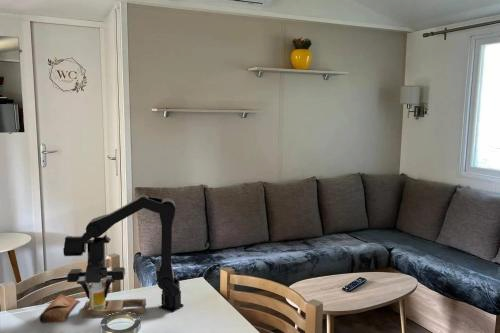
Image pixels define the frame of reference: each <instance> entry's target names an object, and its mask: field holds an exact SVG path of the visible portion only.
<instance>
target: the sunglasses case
mask: <svg viewBox="0 0 500 333" xmlns="http://www.w3.org/2000/svg"><path fill="white" fill-rule="evenodd" d="M80 302H81V301H80V300H78V299H75V298H73V297H70V296H66V295H64V294H62V293H59V294H58V295H57V297H55V298H54V299H53V300H52V301H51V302H50V303H49V305H48V306H47V307H46V308H45V310H44V311H43V312H42V313H41V315H40V316H39V321H40V323H41V324H49V323H50V324H51V323H52V324H53V323H66V321H67V320H68V317H69V315H71V312H72V311H73V310H74V309H75V307H76V306H78V304H80Z"/></svg>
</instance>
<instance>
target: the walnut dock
mask: <svg viewBox="0 0 500 333" xmlns="http://www.w3.org/2000/svg"><path fill="white" fill-rule="evenodd" d="M105 302H106V306H105V308H103V309H101V310H91V309H90V306H89V300H88V301H87V300H86V301H85V303H84V305H83V308H82V310H81V311H80V313H81V314H80V318H100V317H108V316H107V315H109V314H112V313H116V312H131V313H135V314H137V315H136V316H139V315H142V316H143V315H145V311H146V307H147V306H146V305H147V298H130V299H126V298H125V299H111V300H110V299H109V300H106V299H105ZM126 306H127V307H128V306H130V307H131V306H141V307H137V308H136V307H134V308H133V307H132V308H124V307H126Z"/></svg>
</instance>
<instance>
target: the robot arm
mask: <svg viewBox="0 0 500 333" xmlns="http://www.w3.org/2000/svg"><path fill="white" fill-rule="evenodd" d="M175 203H176V202H175V201H174V200H173V199H171V198H168V197H166V198H159V197H153V196H148V195H145V194H142V195H140V196H139V197H137V198H136V199H134V200H132V201H131V202H128V203H127V204H125V205H123V206H122V207H121V206H120V208H117V209H116V210H114V211H112V212H110V213H108V214H103V215H100V216H97V217H94V218H92V219H91V220H90V221H89V222H88V223H87V225H86V227H85V232H83V233H82V235H79V236H78V235H77V236H71V235H66V237H65V238H64V244H63V256H64V257H82V256H83V255H84V253H85V254H86V252H87V265H86V268H85V271H83V269H82V268H71V269H70V270H69V272H68V273H67V275H66V282H67V283H76V284H78V285H80V286H81V287H82V289H83V290H84V292H85V295H86V298H87V299H88V300H89V289H90V284H91V283H99V282H100V281H101V279H102V280H103V279H105V278H106V279H105V299H106V298H107V296H108V295H109V294H108V293H109V290H110V286H111V284H112V283H115V281H123V280H124V279H125V276H126V268H125V267H124V266H121V267H119V266H118V267H113V268H112V270H108V267H107V266H106V244H109V243H110V242H111V238H110V237H109V236H107V234H105V233H106V232H107V231H108V230H109V229H111V228H112V227H113V226H114V225H116V224H117V223H120V222H121V221H123V220H125V219H126V218H129V217H130V216H132V215H133V214H135V213H137V212H139V211H140V210H142V209H144V210H145V209H146V210H148V211H151V212H154V213H155V214H156V213H157V214H159V220H160V223H161V245H160V247H161V248H160V249H161V255H160V265H156V269H155V283H157V287H158V288H159V289H160V290H161V294H160V295H161V305H160V306H159V309H162V310H165V311H167V312H168V311H169V312H171V313H174V312H175V311H178V310H179V309H181V308H182V307H184V304H183V303H182V291H181V290H180V288H181V285H180V284H181V283H180V280H179V279H178V278H177V277H175V275H174V267H173V263H172V245H173V244H172V242H173V241H172V240H173V238H172V237H173V235H172V234H173V230H172V229H173V223H174V220H175V213H176V204H175ZM103 234H104V236H102V235H103Z"/></svg>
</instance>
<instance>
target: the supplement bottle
mask: <svg viewBox="0 0 500 333" xmlns="http://www.w3.org/2000/svg"><path fill="white" fill-rule="evenodd" d="M89 288H90V289H89V299H88V301H89V306H90V309H91V310H101V309H103V308H105V306H106V302H105V300H106V298H105V288H106V286H105V285H104V280H103V279H101V281H100V282H99V283H90V286H89Z"/></svg>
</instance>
